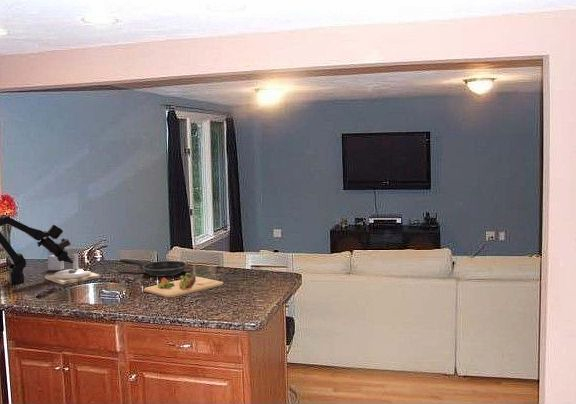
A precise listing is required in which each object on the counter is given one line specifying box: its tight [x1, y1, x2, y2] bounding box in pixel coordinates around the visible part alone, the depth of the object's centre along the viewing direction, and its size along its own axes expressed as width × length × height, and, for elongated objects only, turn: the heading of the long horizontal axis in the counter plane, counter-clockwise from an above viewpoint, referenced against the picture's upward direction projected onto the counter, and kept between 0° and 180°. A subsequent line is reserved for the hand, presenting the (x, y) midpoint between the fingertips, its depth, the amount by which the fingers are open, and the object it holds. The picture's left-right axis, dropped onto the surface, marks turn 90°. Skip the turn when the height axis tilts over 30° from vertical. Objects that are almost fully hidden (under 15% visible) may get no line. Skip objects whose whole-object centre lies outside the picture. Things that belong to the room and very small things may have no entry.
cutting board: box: [143, 272, 224, 298], centre depth 302 cm, size 35×23×8 cm
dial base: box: [44, 271, 101, 285], centre depth 331 cm, size 22×22×2 cm
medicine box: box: [47, 254, 65, 271], centre depth 355 cm, size 8×4×9 cm, turn 84°
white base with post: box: [54, 253, 92, 279], centre depth 330 cm, size 19×19×10 cm
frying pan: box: [119, 258, 188, 277], centre depth 342 cm, size 44×25×7 cm, turn 67°
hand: (72, 262), depth 338 cm, fingers closed
